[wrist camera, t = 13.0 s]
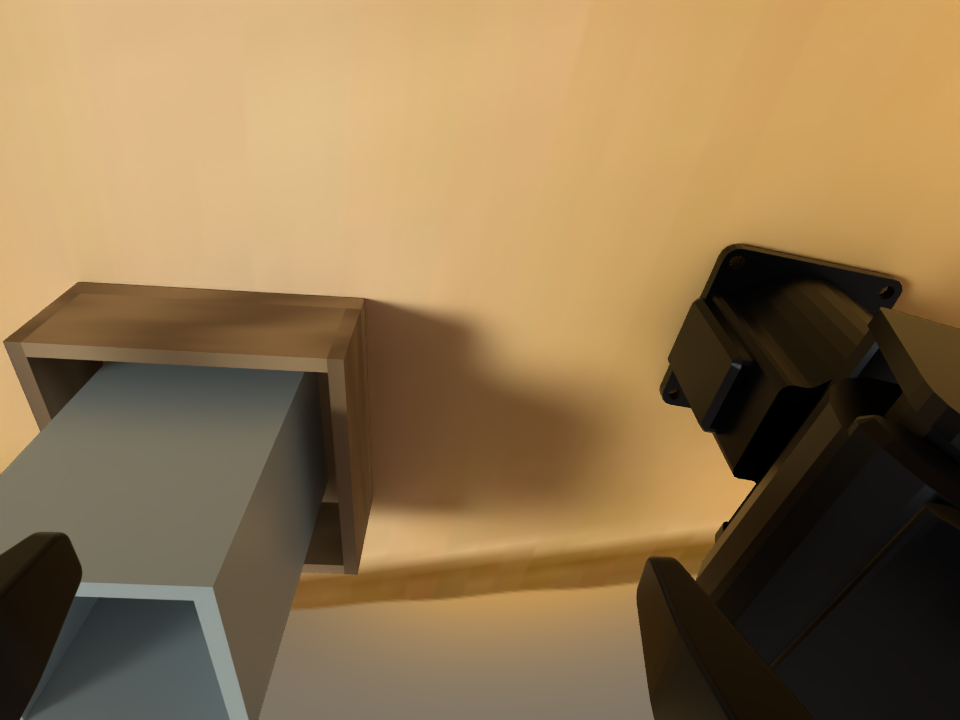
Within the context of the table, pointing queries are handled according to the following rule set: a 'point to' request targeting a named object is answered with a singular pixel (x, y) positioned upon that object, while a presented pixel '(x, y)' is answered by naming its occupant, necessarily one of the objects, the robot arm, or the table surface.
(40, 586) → the robot arm
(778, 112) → the table surface
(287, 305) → the walnut crate
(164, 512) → the grey crate
